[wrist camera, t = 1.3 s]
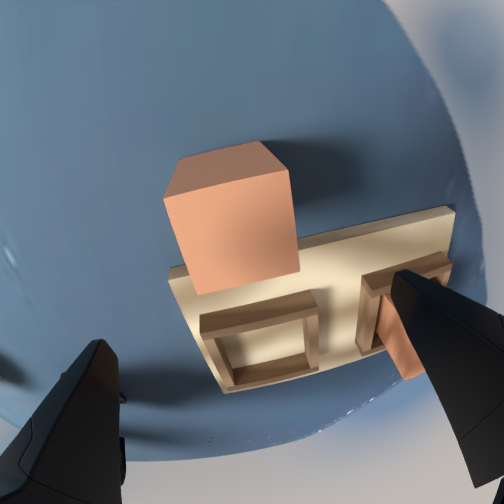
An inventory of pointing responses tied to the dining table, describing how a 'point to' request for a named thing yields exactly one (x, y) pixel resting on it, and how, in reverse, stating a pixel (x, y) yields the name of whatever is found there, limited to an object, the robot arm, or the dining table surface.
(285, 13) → the dining table surface
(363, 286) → the socket board
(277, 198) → the loose block
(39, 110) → the dining table surface
